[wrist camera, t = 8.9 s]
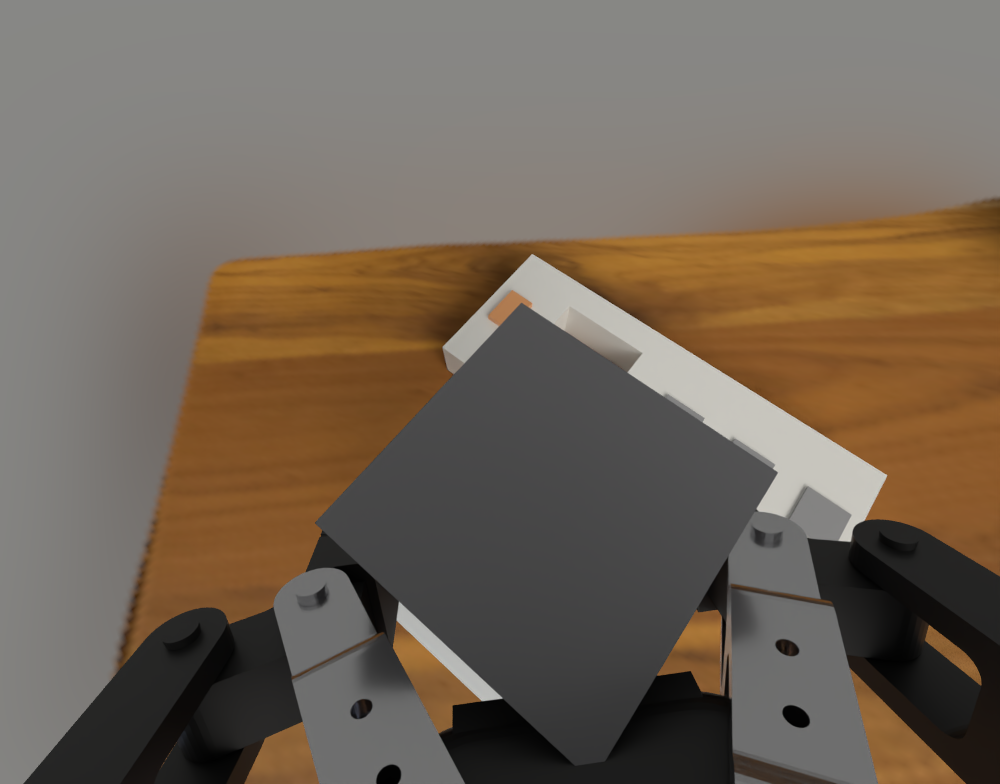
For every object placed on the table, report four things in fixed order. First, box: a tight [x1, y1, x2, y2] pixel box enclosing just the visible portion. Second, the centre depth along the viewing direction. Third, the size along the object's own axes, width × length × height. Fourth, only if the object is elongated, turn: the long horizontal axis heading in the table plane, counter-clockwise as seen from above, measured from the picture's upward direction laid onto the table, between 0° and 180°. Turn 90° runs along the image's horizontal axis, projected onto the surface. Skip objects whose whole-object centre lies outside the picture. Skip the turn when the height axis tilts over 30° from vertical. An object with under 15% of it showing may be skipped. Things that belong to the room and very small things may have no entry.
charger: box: [315, 303, 778, 766], centre depth 12 cm, size 4×4×12 cm
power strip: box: [442, 254, 887, 542], centre depth 31 cm, size 9×24×3 cm, turn 51°
